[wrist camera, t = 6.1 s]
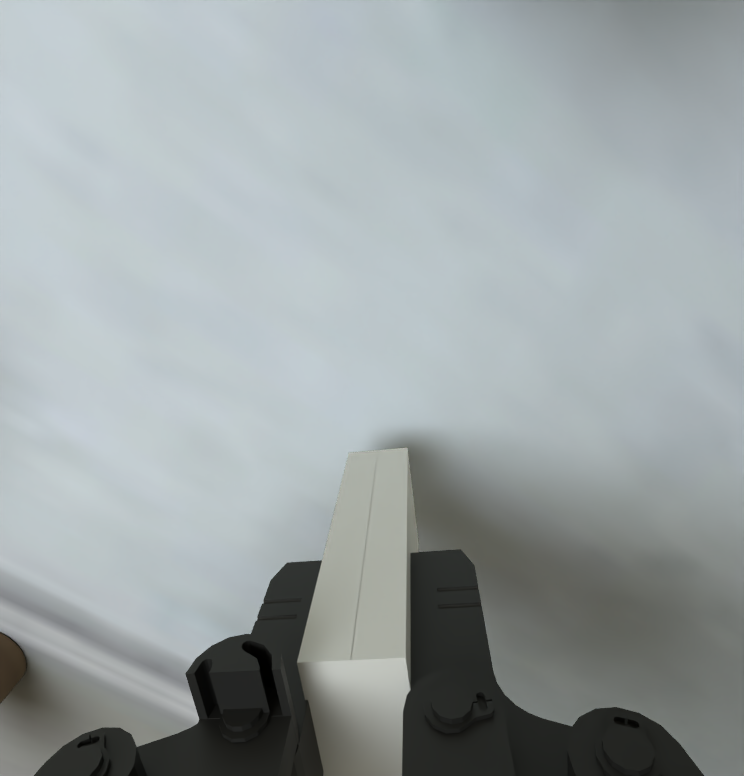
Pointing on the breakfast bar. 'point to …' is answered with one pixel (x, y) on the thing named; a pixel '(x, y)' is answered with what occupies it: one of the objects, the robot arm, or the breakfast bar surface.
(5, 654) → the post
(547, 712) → the breakfast bar surface
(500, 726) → the robot arm
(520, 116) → the breakfast bar surface
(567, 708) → the breakfast bar surface
